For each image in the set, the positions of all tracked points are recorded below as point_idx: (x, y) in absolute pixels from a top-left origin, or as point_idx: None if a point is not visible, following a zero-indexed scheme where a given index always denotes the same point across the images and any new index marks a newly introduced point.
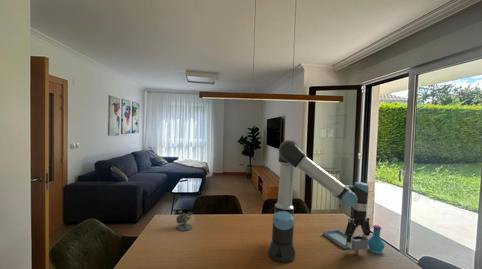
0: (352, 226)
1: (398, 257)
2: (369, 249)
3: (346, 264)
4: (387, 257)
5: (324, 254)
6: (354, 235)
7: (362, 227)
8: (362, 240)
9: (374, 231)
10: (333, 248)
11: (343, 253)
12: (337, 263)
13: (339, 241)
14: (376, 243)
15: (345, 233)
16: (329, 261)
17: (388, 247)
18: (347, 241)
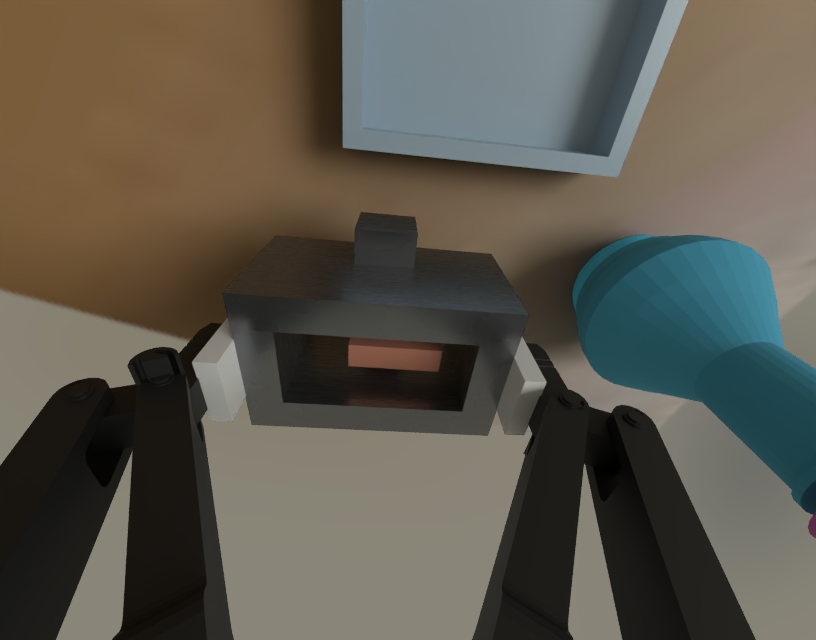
0: (137, 606)
1: (649, 398)
2: (598, 252)
3: (185, 339)
4: (580, 376)
5: (27, 144)
6: (403, 311)
7: (502, 552)
8: (388, 426)
9: (773, 432)
10: (218, 64)
11: (271, 209)
12: (111, 309)
13: (349, 8)
14: (618, 373)
15: (52, 418)
16: (43, 265)
17: (799, 289)
18: (207, 328)
